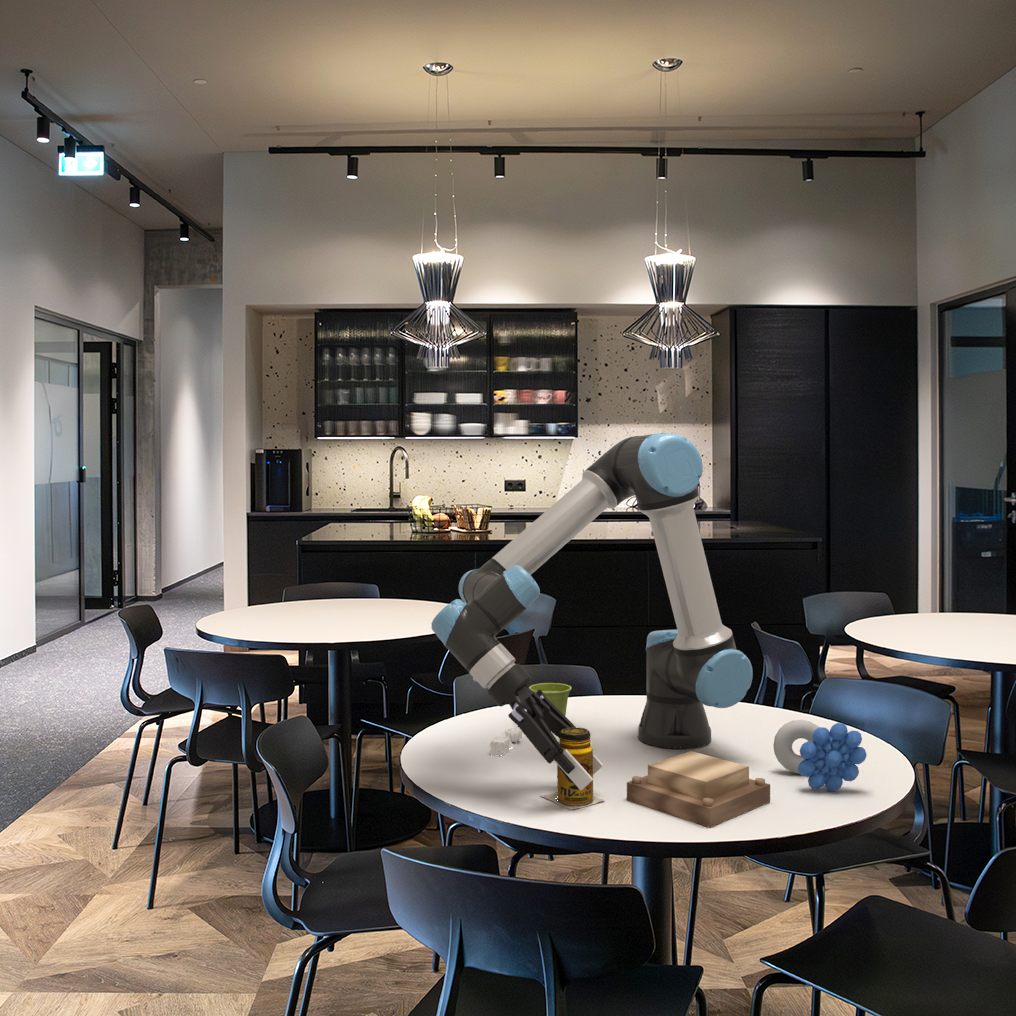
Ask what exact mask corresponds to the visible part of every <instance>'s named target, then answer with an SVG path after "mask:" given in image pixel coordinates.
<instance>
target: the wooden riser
mask: <svg viewBox="0 0 1016 1016" xmlns="http://www.w3.org/2000/svg"><path fill="white" fill-rule="evenodd" d="M626 800H627V801H629V802H633V803H636V804H638V805H641V806H644V807H647V808H650V809H653V810H656V811H660V812H662V813H665V814H668V815H671V816H675V817H676V818H680V819H684V820H685V821H686V820H687V821H688V822H692V823H695V824H698V825H700V826H704V827H707V828H713V827H714V826H718V825H719V824H722V823H724V822H727V821H729V820H731V819H733V818H736V817H739V816H740V815H743V814H745V813H748V812H749V811H753V810H755V809H758V808H759V807H762V806H764V805H766V804H769V803H771V784H770V783H766V779H765V778H763V777H756V778H755V779H753V778H750V766H748V765H746V764H745V765H744V764H742V763H737V762H734V761H731V760H726V759H722V758H720V757H719V758H718V757H715V756H711V755H707V754H703V753H701V752H696V751H693V750H690V751H687V752H683V753H681V754H677V755H675V756H672V757H669V758H665V759H661V760H659V761H656V762H652V763H650V764H647V775H644V776H642V777H641V776H639V775H637V776H632V777H631V780H630V781H627V782H626Z"/></svg>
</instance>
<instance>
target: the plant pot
mask: <svg viewBox="0 0 1016 1016" xmlns="http://www.w3.org/2000/svg"><path fill="white" fill-rule="evenodd" d="M529 688H530V689H531V690H532V691H533V692H535V693H536V692H537V691H538V690H541V691H542V692H543V693H544V694H545V696H546V697H547V698H548V699H549V700H550V701H551V702H552V703H553V704H554V705H555V707H556V708H557V709H558V710H559V711H560V712H561V713H562V714H563V715H564V716H565V717H566V716H567V715H566V713H567V707H568V698H569V695H570V692H571V690H572V686H571V685H570V684H569V685H568V684H566V683H559V682H557V683H555V682H543V683H541V682H540V683H537V684H536V683H535V684H531V685H530V686H529Z"/></svg>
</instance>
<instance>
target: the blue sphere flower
mask: <svg viewBox="0 0 1016 1016" xmlns="http://www.w3.org/2000/svg"><path fill="white" fill-rule="evenodd" d="M830 727H831V728H830V729H828V728H827V727H824V726H823V727H822V726H819V728H817V729H816V730H815V731H814V732H813V735H812V739H813V742H809V741H807V740H806V741H805V742H804V743H803V744H801V746H800V748H799V755H800V756H801V757H803V758H804V759H805V760H803V761H801V762H800V764H799V766H798V771H799V775H800V776H802V777H805V778H806V777H807V778H808V779H807V783H808V786H809V787H810V788H811V789H813V790H819V789H822V788H823V787H824V786H825V788H826V789H827V790H828V791H829V792H830V791H831V792H836V791H838V790H840V789H841V788H842V786H843V784H844V781H845V782H853V781H855V780H856V779H857V777H858V776H859V773H860V771H859V770H860V769H859V767H858V766H859V765H860V764H862V763H864V762H865V760H866V758H867V755H868V754H867V751H866V749H865V748H864V747H863V746H860V745H861V743H862V741H863V737H862V734H861V732H859V731H858V730H850V731H849V730H848V727H847V725H846V724H845V723H843V722H837V723H834V724H833V725H832V726H830ZM857 765H858V766H857Z"/></svg>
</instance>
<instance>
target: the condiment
mask: <svg viewBox="0 0 1016 1016" xmlns="http://www.w3.org/2000/svg"><path fill="white" fill-rule="evenodd" d="M575 727H576V726H575ZM575 727H572V728H565V729H562V730H561V731H560V732H559V735H560V738H558V739H559V741H558V742H559V744H560V745H561V747H562V748H563V752H564V751H565V750H566V749H567V750H568V751H569V753H570V754H571V755H572V756H573V757H574V758H575V759H576V760H577V761H578V763H579V764H580V765H581V766H582V767H583V768H584V769H585V770H586V771H587V773H588V774H589V775H590V776H591V777H592V778H593V780H592V781H591V782H590V783H589V784H588V785H587V786H586V787H585V788H584V789H582V790H580V789H579V788H578V787H577V786H576V785H575V784H574V782H573V781H572V780H571V779H570V778H569V777H568V776H567V775H566V773H565V772H564V771H563V770H562V769H561V768H560V767H559V766H558V764H557V763H556V765H557V766H556V773H557V775H556V778H557V779H556V780H557V784H556V785H557V791H555V792H551V793H550V792H549V793H548V794H542V795H541V797H542V798H544V799H548V800H549V801H552V802H554V803H555V804H557V805H558V806H562V807H564V808H566V809H568V810H570V811H571V810H575V809H581V808H585V807H589V806H592V805H595V804H598V803H601V802H604V801H606V800H605V799H602V798H600V797H597V796H594V775H593V754H594V752H593V751H594V749H593V747H592V744H591V742H592V740H591V734H592V733H591V731H590V730H588V728H587V729H586V728H583V727H576V728H575ZM557 796H558V798H557ZM555 798H557V799H555ZM557 800H558V801H557Z"/></svg>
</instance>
